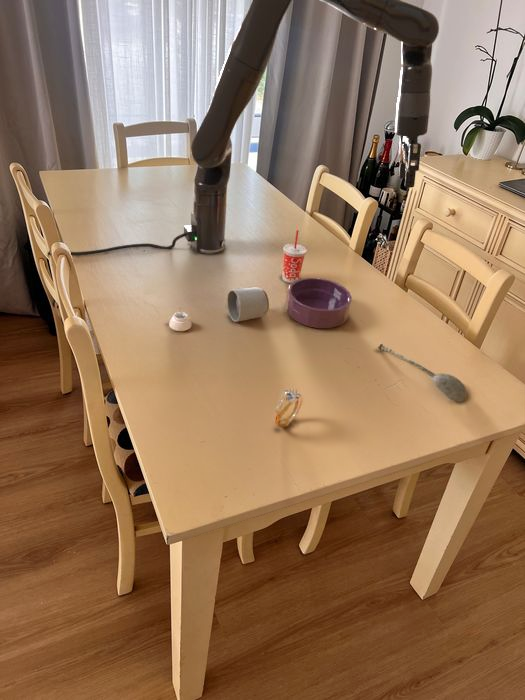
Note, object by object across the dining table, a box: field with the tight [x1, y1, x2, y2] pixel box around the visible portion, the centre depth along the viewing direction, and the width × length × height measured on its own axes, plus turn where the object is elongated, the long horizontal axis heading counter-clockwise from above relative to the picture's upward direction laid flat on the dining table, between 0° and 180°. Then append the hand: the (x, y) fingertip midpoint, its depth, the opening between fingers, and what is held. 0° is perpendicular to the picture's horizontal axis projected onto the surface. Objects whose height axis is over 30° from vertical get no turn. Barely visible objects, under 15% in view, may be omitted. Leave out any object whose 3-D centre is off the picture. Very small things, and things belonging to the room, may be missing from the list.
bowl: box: [285, 277, 352, 329], centre depth 127 cm, size 15×15×6 cm
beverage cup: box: [281, 230, 307, 284], centre depth 137 cm, size 6×6×14 cm
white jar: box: [168, 311, 192, 332], centre depth 117 cm, size 5×3×5 cm
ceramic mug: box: [226, 287, 270, 323], centre depth 123 cm, size 11×8×8 cm
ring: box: [273, 388, 304, 429], centre depth 94 cm, size 7×3×8 cm, turn 135°
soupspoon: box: [377, 343, 468, 403], centre depth 112 cm, size 22×3×7 cm
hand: (406, 182), depth 130 cm, fingers open, 8 cm apart
